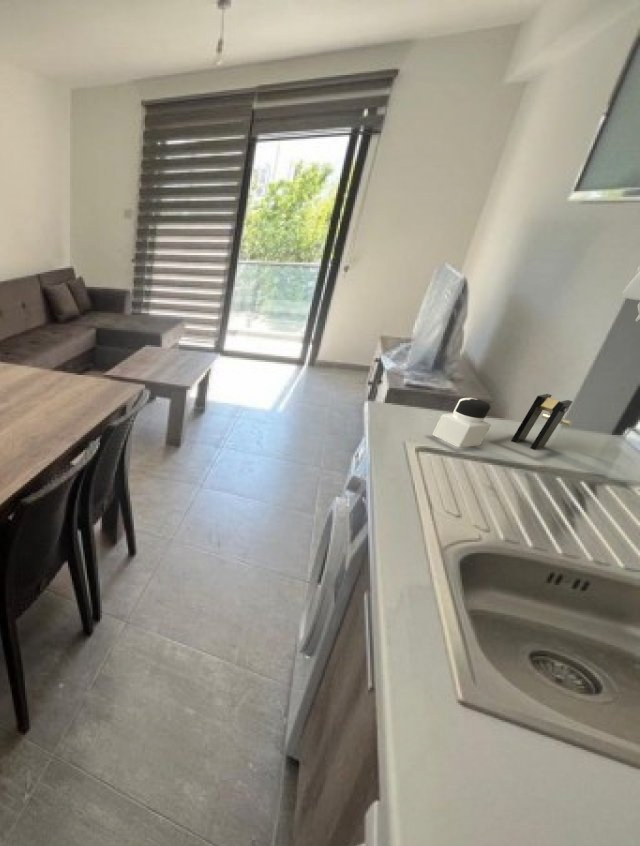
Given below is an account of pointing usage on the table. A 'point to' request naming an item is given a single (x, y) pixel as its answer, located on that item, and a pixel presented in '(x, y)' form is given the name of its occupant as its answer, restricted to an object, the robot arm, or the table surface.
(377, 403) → the table surface
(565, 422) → the switch lever
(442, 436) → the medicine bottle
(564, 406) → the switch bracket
